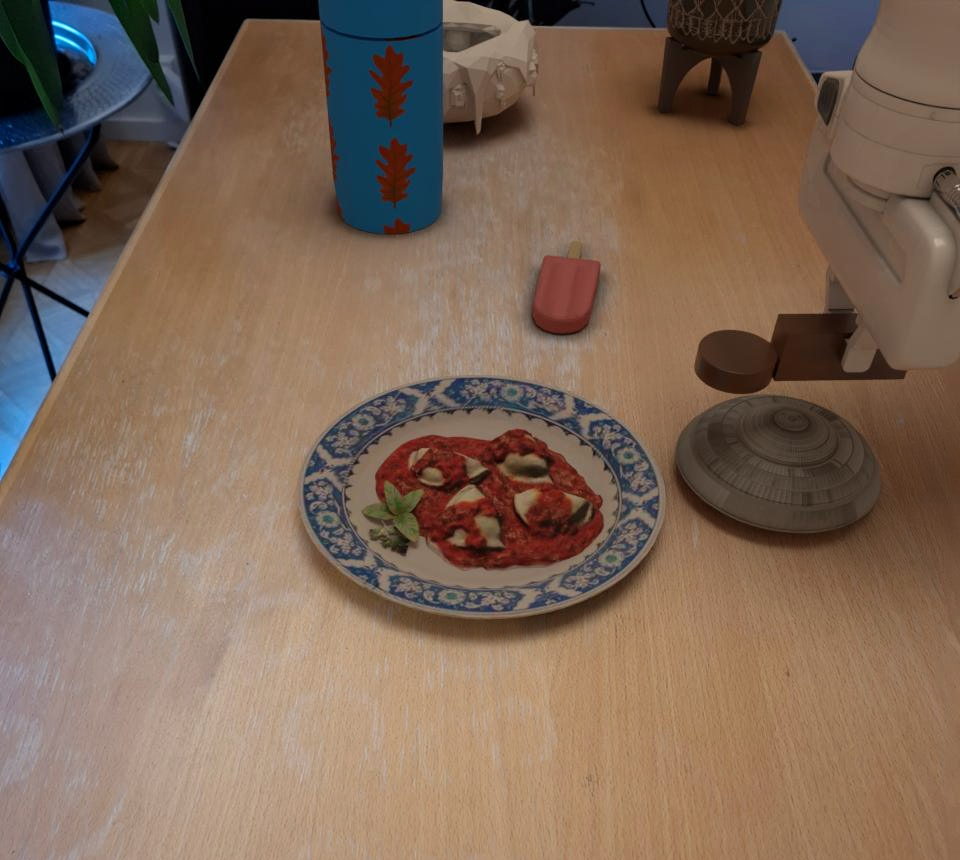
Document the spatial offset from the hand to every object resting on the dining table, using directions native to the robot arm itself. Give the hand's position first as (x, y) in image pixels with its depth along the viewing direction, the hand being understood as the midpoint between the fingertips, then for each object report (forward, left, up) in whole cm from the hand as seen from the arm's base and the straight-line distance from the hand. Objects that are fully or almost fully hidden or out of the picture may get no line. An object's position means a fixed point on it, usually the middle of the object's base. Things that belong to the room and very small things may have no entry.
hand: (842, 349), depth 66 cm
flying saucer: (+2, 0, -11) cm, 11 cm away
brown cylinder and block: (+3, 0, -2) cm, 3 cm away
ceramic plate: (+24, +2, -11) cm, 27 cm away
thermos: (+30, -43, -11) cm, 54 cm away
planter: (-8, -68, -11) cm, 69 cm away
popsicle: (+14, -27, -11) cm, 32 cm away
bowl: (+23, -66, -11) cm, 71 cm away
